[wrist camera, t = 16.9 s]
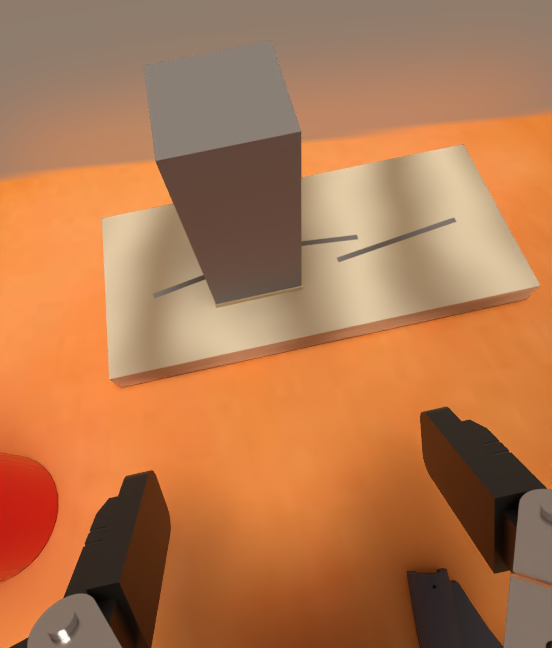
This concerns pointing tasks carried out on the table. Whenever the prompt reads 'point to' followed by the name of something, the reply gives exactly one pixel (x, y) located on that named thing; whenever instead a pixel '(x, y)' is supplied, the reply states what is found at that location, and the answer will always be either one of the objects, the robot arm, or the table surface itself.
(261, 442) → the table surface
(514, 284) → the board
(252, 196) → the block
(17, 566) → the bottle
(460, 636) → the squeegee
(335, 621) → the table surface
